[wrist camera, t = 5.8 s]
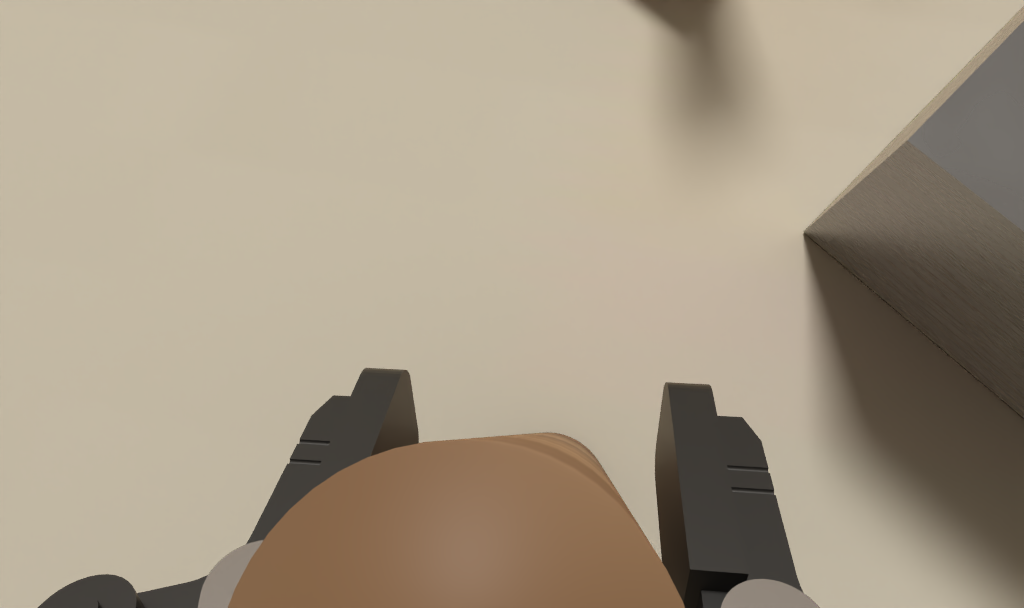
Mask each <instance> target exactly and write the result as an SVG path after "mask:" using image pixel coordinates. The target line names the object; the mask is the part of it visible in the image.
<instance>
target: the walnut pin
mask: <svg viewBox="0 0 1024 608" xmlns="http://www.w3.org/2000/svg"><path fill="white" fill-rule="evenodd" d="M228 608H685V606H684V603H683V601H682V599H681V597H680V595H679V593H678V591H677V589H676V587H675V585H674V583H673V581H672V579H671V577H670V575H669V573H668V571H667V569H666V568H665V566H664V565H663V563H662V561H661V560H660V558H659V557H658V555H657V553H656V552H655V550H654V549H653V547H652V546H651V544H650V542H649V541H648V539H647V538H646V536H645V534H644V533H643V531H642V530H641V528H640V526H639V525H638V523H637V522H636V520H635V519H634V517H633V515H632V514H631V512H630V511H629V509H628V507H627V506H626V504H625V503H624V501H623V500H622V498H621V496H620V495H619V493H618V492H617V490H616V488H615V487H614V485H613V484H612V482H611V480H610V479H609V477H608V476H607V474H606V473H605V471H604V469H603V468H602V466H601V465H600V463H599V462H598V460H597V459H596V457H595V456H594V455H593V454H592V452H591V451H590V450H589V449H588V448H586V447H585V446H584V445H583V444H581V443H580V442H578V441H577V440H575V439H573V438H571V437H568V436H565V435H562V434H557V433H534V434H521V435H509V436H496V437H484V438H471V439H458V440H446V441H433V442H423V443H418V444H413V445H408V446H403V447H398V448H394V449H391V450H388V451H385V452H382V453H379V454H376V455H373V456H370V457H367V458H365V459H363V460H361V461H359V462H357V463H355V464H353V465H351V466H349V467H347V468H345V469H343V470H341V471H339V472H337V473H336V474H334V475H333V476H331V477H330V478H328V479H327V480H325V481H324V482H322V483H321V484H319V485H318V486H316V487H315V488H314V489H312V490H311V491H310V492H309V493H308V494H307V495H305V496H304V497H303V498H302V499H301V500H300V501H299V502H297V503H296V504H295V505H294V506H293V507H292V508H291V509H290V510H289V511H288V512H287V513H286V514H285V515H284V516H283V517H282V519H281V520H280V521H279V522H278V523H277V524H276V525H275V526H274V528H273V529H272V530H271V531H270V532H269V533H268V535H267V536H266V538H265V539H264V540H263V542H262V543H261V545H260V546H259V548H258V549H257V551H256V552H255V553H254V555H253V556H252V558H251V559H250V561H249V563H248V565H247V567H246V569H245V571H244V572H243V574H242V576H241V578H240V580H239V582H238V584H237V586H236V588H235V590H234V593H233V595H232V598H231V600H230V603H229V605H228Z"/></svg>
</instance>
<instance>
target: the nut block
mask: <svg viewBox="0 0 1024 608" xmlns="http://www.w3.org/2000/svg"><path fill="white" fill-rule="evenodd" d="M804 233H805V234H807V235H808V236H809V237H810V238H811V239H812V240H814V241H815V242H816V243H817V244H818V245H820V246H821V247H822V248H823V249H824V250H825V251H827V252H828V253H829V254H830V255H831V256H832V257H834V258H835V259H836V260H837V261H838V262H840V263H841V264H842V265H843V266H844V267H845V268H847V269H848V270H849V271H850V272H851V273H853V274H854V275H855V276H856V277H857V278H858V279H860V280H861V281H862V282H863V283H864V284H866V285H867V286H868V287H869V288H870V289H871V290H873V291H874V292H875V293H876V294H877V295H879V296H880V297H881V298H882V299H883V300H884V301H886V302H887V303H888V304H889V305H890V306H892V307H893V308H894V309H895V310H896V311H897V312H899V313H900V314H901V315H902V316H903V317H905V318H906V319H907V320H908V321H909V322H910V323H912V324H913V325H914V326H915V327H916V328H918V329H919V330H920V331H921V332H922V333H923V334H925V335H926V336H927V337H928V338H929V339H931V340H932V341H933V342H934V343H935V344H936V345H938V346H939V347H940V348H941V349H942V350H943V351H945V352H946V353H947V354H948V355H949V356H951V357H952V358H953V359H954V360H955V361H956V362H958V363H959V364H960V365H961V366H962V367H964V368H965V369H966V370H967V371H968V372H969V373H971V374H972V375H973V376H974V377H975V378H977V379H978V380H979V381H980V382H981V383H982V384H984V385H985V386H986V387H987V388H988V389H990V390H991V391H992V392H993V393H994V394H995V395H997V396H998V397H999V398H1000V399H1001V400H1003V401H1004V402H1005V403H1006V404H1007V405H1008V406H1010V407H1011V408H1012V409H1013V410H1014V411H1016V412H1017V413H1018V414H1019V415H1020V416H1021V417H1023V418H1024V7H1023V8H1022V9H1021V10H1020V11H1019V12H1018V13H1017V14H1016V15H1015V16H1014V17H1013V18H1012V19H1011V20H1010V21H1009V22H1008V23H1007V24H1006V25H1005V26H1004V27H1003V28H1002V29H1001V30H1000V31H999V32H998V33H997V34H996V35H995V36H994V37H993V38H992V39H991V40H990V42H989V43H988V44H987V45H986V46H985V47H984V48H983V49H982V50H981V51H980V52H979V53H978V54H977V55H976V56H975V57H974V58H973V59H972V60H971V61H970V62H969V63H968V64H967V65H966V66H965V67H964V68H963V69H962V70H961V71H960V72H959V73H958V74H957V75H956V76H955V77H954V78H953V79H952V80H951V81H950V82H949V83H948V85H947V86H946V87H945V88H944V89H943V90H942V91H941V92H940V93H939V94H938V95H937V96H936V97H935V98H934V99H933V100H932V101H931V102H930V103H929V104H928V105H927V106H926V107H925V108H924V109H923V110H922V111H921V112H920V113H919V114H918V115H917V116H916V117H915V118H914V119H913V120H912V121H911V122H910V123H909V124H908V125H907V126H906V128H905V129H904V130H903V131H902V132H901V133H900V134H899V135H898V136H897V137H896V138H895V139H894V140H893V141H892V142H891V143H890V144H889V145H888V146H887V147H886V148H885V149H884V150H883V151H882V152H881V153H880V154H879V155H878V156H877V157H876V158H875V159H874V160H873V161H872V162H871V163H870V164H869V165H868V166H867V167H866V168H865V169H864V171H863V172H862V173H861V174H860V175H859V176H858V177H857V178H856V179H855V180H854V181H853V182H852V183H851V184H850V185H849V186H848V187H847V188H846V189H845V190H844V191H843V192H842V193H841V194H840V195H839V196H838V197H837V198H836V199H835V200H834V201H833V202H832V203H831V204H830V205H829V206H828V207H827V208H826V209H825V210H824V211H823V213H822V214H821V215H820V216H819V217H818V218H817V219H816V220H815V221H814V222H813V223H812V224H811V225H810V226H809V227H808V228H807V229H806V230H805V231H804Z"/></svg>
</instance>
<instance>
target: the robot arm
mask: <svg viewBox="0 0 1024 608" xmlns="http://www.w3.org/2000/svg"><path fill="white" fill-rule="evenodd" d="M418 443H419V436H418V427H417V420H416V413H415V406H414V400H413V393H412V386H411V380H410V375H409V373H408V371H407V370H396V369H376V368H365V369H364V370H363V371H362V373H361V374H360V377H359V379H358V381H357V383H356V385H355V388H354V390H353V392H352V394H351V396H334V395H333V396H332V397H331V398H330V399H329V400H328V401H327V402H326V403H325V404H324V405H323V406H321V407H320V408H319V409H318V410H317V411H316V412H315V413H314V414H313V415H312V416H311V418H310V420H309V422H308V424H307V426H306V428H305V430H304V432H303V434H302V436H301V438H300V443H299V444H297V446H296V448H295V450H294V452H293V454H292V456H291V458H290V463H289V464H287V466H286V468H285V470H284V471H283V473H282V475H281V477H280V479H279V481H278V483H277V485H276V487H275V489H274V491H273V493H272V495H271V497H270V499H269V501H268V503H267V505H266V507H265V509H264V511H263V513H262V515H261V517H260V519H259V521H258V523H257V525H256V527H255V529H254V531H253V533H252V535H251V537H250V539H249V540H248V542H247V544H246V545H244V546H241V547H239V548H237V549H236V550H234V551H232V552H231V553H229V554H228V555H226V556H225V557H224V558H223V559H222V560H220V561H219V562H218V563H217V564H216V566H215V567H214V568H213V569H212V570H211V572H210V573H209V575H207V576H205V577H203V578H200V579H198V580H194V581H191V582H187V583H183V584H178V585H174V586H169V587H164V588H160V589H155V590H151V591H146V592H142V593H136V591H135V590H134V588H133V586H132V585H131V584H130V583H129V582H128V581H127V580H125V579H124V578H122V577H119V576H116V575H108V574H106V575H95V576H90V577H87V578H83V579H80V580H78V581H76V582H73V583H71V584H69V585H67V586H65V587H64V588H62V589H60V590H59V591H57V592H56V593H54V594H53V595H52V596H50V597H49V598H48V599H47V600H46V601H44V602H43V603H42V604H41V605H40V606H39V607H38V608H228V605H229V603H230V600H231V598H232V595H233V593H234V590H235V588H236V586H237V584H238V582H239V580H240V578H241V576H242V574H243V572H244V571H245V569H246V567H247V565H248V563H249V561H250V559H251V558H252V556H253V555H254V553H255V552H256V551H257V549H258V548H259V546H260V545H261V543H262V542H263V540H264V539H265V538H266V536H267V535H268V533H269V532H270V531H271V530H272V529H273V528H274V526H275V525H276V524H277V523H278V522H279V521H280V520H281V519H282V517H283V516H284V515H285V514H286V513H287V512H288V511H289V510H290V509H291V508H292V507H293V506H294V505H295V504H296V503H297V502H299V501H300V500H301V499H302V498H303V497H304V496H305V495H307V494H308V493H309V492H310V491H311V490H312V489H314V488H315V487H316V486H318V485H319V484H321V483H322V482H324V481H325V480H327V479H328V478H330V477H331V476H333V475H334V474H336V473H337V472H339V471H341V470H343V469H345V468H347V467H349V466H351V465H353V464H355V463H357V462H359V461H361V460H363V459H365V458H367V457H370V456H373V455H376V454H379V453H382V452H385V451H388V450H391V449H394V448H398V447H403V446H408V445H413V444H418ZM655 481H656V494H657V506H658V518H659V530H660V542H661V554H662V563H663V565H664V566H665V568H666V569H667V571H668V573H669V575H670V577H671V579H672V581H673V583H674V585H675V587H676V589H677V591H678V593H679V595H680V597H681V599H682V601H683V603H684V606H685V608H820V607H819V606H818V605H817V604H816V603H815V602H814V601H813V600H812V599H811V598H810V597H808V596H807V595H805V594H804V593H803V591H802V589H801V587H800V584H799V581H798V578H797V575H796V571H795V567H794V563H793V560H792V556H791V552H790V548H789V544H788V541H787V537H786V533H785V529H784V526H783V522H782V518H781V514H780V510H779V507H778V503H777V499H776V495H774V488H773V484H772V480H771V476H770V473H768V465H767V461H766V457H765V454H764V450H763V446H762V442H761V440H760V439H759V438H758V436H757V435H756V434H755V433H754V431H753V430H752V429H751V428H750V427H749V425H748V424H747V423H746V422H745V420H744V419H743V418H742V417H727V416H717V412H716V407H715V402H714V397H713V392H712V389H711V386H710V385H706V384H687V383H667V382H666V383H665V385H664V390H663V397H662V405H661V412H660V420H659V428H658V435H657V443H656V454H655Z"/></svg>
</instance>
